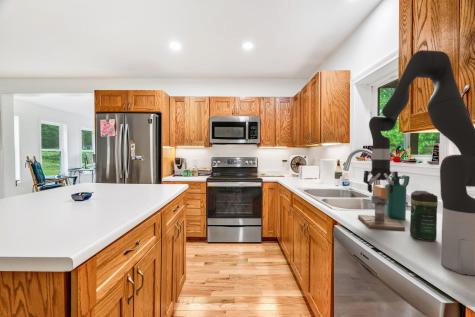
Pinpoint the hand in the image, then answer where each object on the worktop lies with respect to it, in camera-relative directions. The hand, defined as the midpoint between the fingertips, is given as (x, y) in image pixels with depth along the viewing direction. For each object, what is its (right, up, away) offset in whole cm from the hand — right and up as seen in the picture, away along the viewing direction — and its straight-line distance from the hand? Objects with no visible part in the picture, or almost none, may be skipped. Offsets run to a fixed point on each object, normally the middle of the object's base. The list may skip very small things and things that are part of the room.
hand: (380, 192), depth 116 cm
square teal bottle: (+16, -15, +12) cm, 25 cm away
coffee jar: (+6, -16, -18) cm, 25 cm away
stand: (0, -15, 0) cm, 15 cm away
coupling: (0, -5, 0) cm, 5 cm away
